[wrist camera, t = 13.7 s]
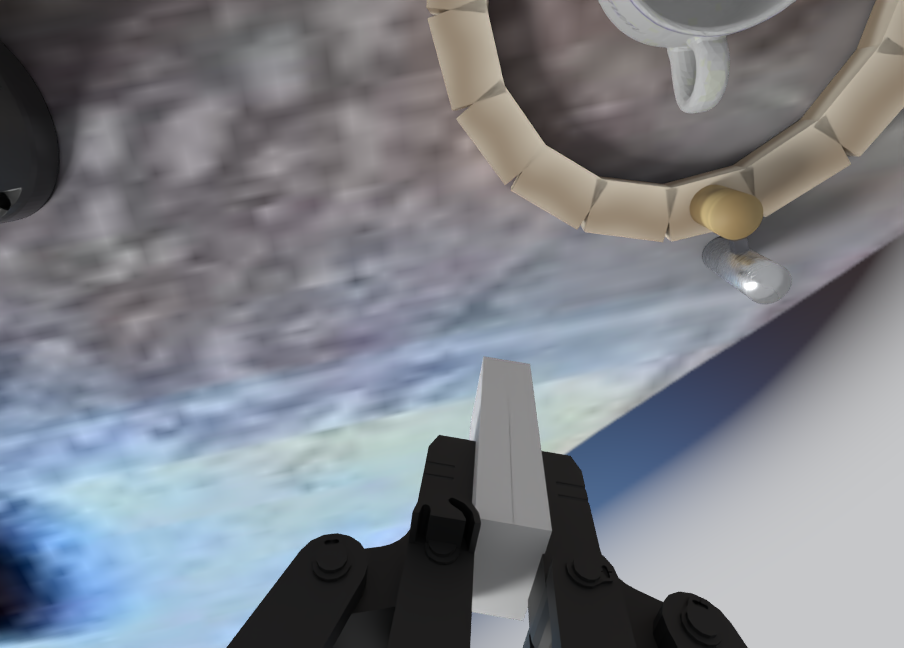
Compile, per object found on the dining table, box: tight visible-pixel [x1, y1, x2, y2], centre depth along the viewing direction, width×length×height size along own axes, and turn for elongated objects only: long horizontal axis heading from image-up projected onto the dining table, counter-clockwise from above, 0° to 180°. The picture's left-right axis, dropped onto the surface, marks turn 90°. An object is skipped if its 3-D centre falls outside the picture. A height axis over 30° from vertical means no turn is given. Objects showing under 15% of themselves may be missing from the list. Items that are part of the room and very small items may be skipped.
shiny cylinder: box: [702, 237, 792, 304], centre depth 30 cm, size 2×3×7 cm
